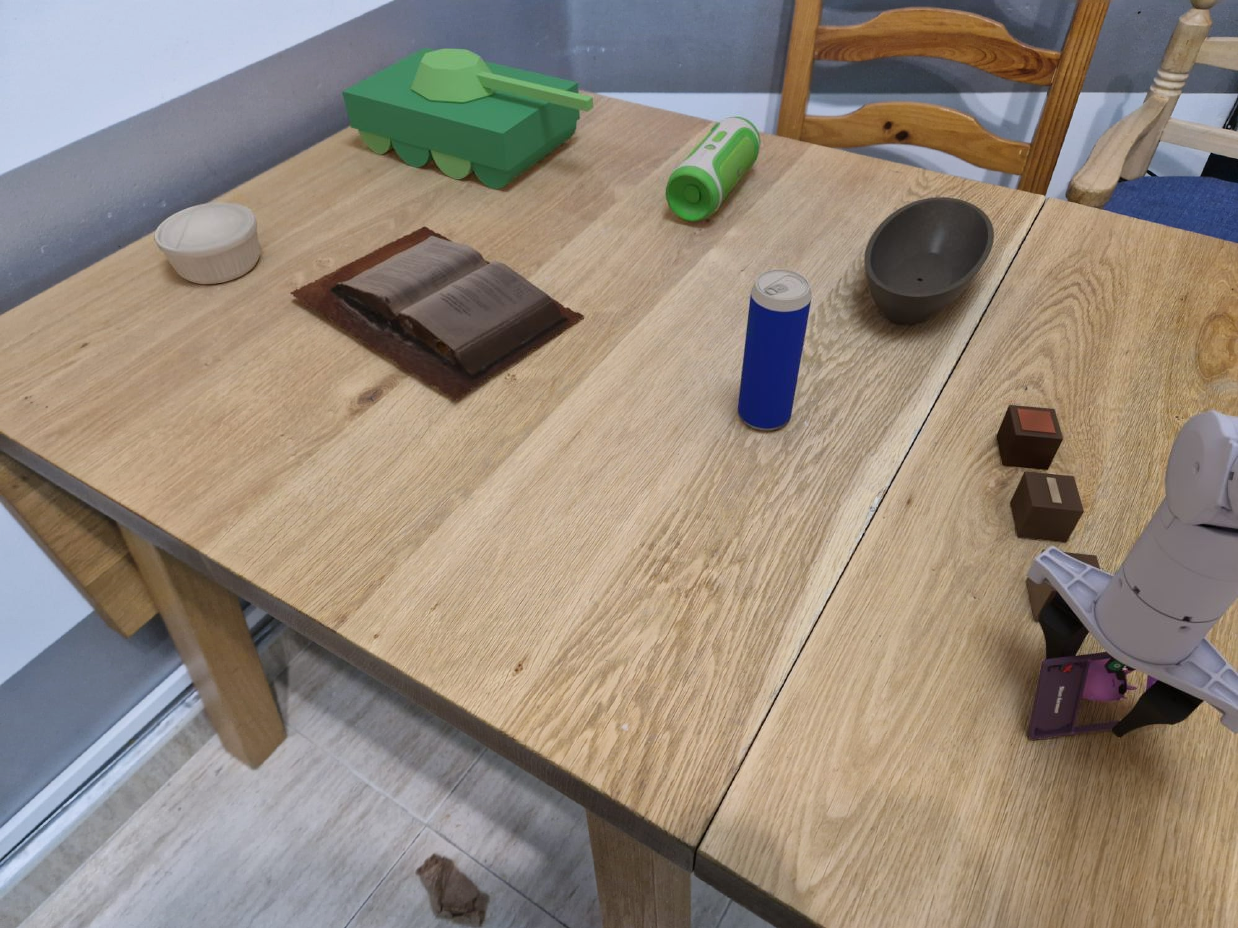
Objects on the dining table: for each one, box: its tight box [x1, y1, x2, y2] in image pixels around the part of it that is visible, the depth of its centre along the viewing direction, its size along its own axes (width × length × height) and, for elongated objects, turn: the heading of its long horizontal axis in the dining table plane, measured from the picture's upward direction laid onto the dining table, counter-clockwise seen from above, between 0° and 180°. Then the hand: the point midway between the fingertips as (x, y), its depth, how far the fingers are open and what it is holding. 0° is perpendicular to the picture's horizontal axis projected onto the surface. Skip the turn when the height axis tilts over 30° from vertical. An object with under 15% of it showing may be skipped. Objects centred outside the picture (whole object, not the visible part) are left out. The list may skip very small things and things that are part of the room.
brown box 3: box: [1025, 549, 1102, 622], centre depth 66 cm, size 4×4×4 cm
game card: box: [1026, 651, 1158, 741], centre depth 60 cm, size 7×5×9 cm
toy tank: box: [341, 47, 594, 190], centre depth 119 cm, size 18×12×35 cm
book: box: [290, 226, 585, 401], centre depth 96 cm, size 20×28×4 cm
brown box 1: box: [995, 404, 1064, 471], centre depth 78 cm, size 4×4×4 cm
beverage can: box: [737, 268, 813, 431], centre depth 78 cm, size 5×5×15 cm
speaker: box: [665, 116, 761, 223], centre depth 111 cm, size 18×7×8 cm, turn 154°
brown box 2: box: [1009, 470, 1085, 543], centre depth 72 cm, size 4×4×4 cm
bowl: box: [863, 196, 995, 326], centre depth 96 cm, size 12×22×6 cm, turn 148°
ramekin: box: [153, 201, 261, 285], centre depth 102 cm, size 11×11×5 cm
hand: (1088, 698), depth 60 cm, fingers closed on game card, 5 cm apart
